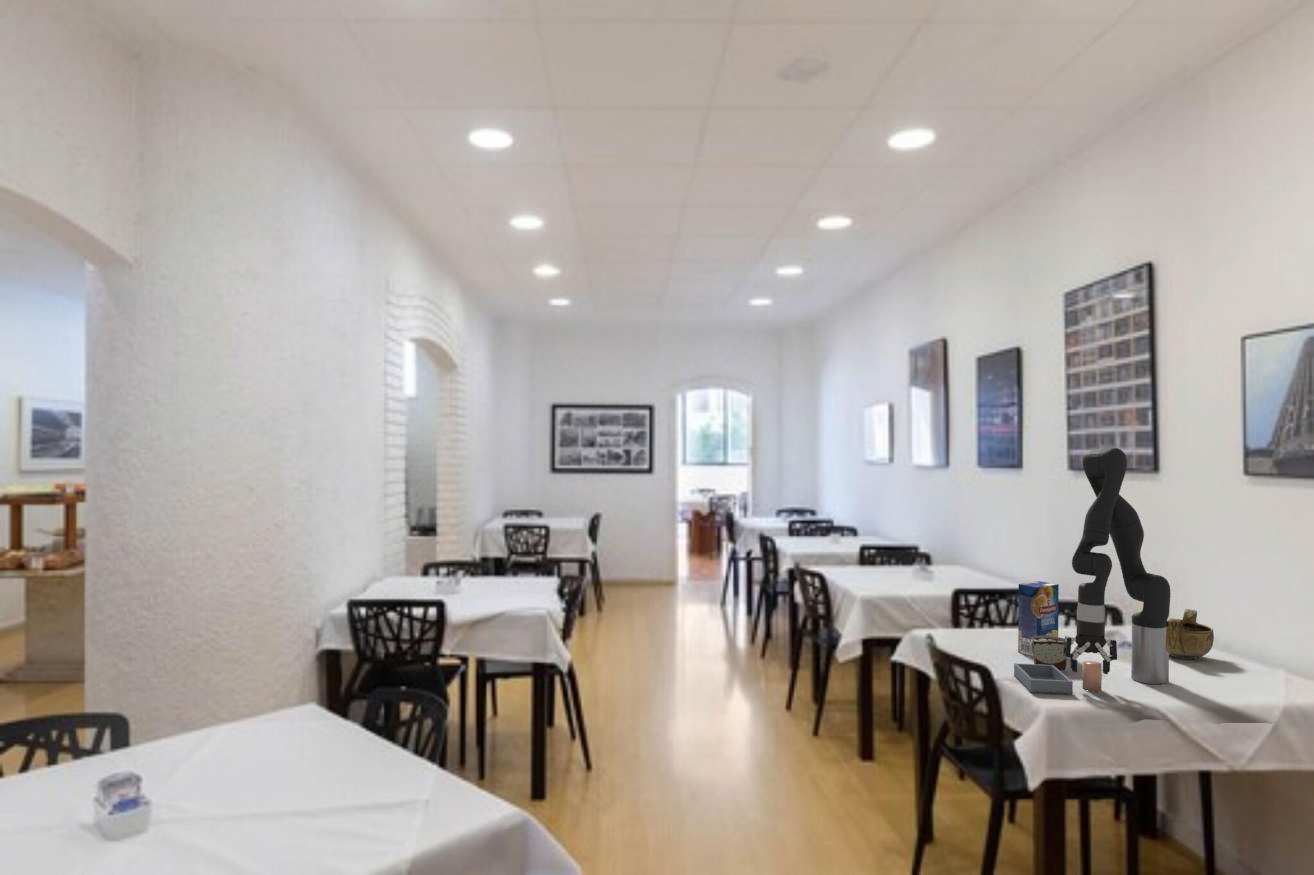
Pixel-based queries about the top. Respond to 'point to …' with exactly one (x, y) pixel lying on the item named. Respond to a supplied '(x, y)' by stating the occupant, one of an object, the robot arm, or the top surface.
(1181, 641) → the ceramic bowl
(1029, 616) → the juice carton
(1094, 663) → the brown upright block
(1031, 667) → the bin
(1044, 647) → the food container
